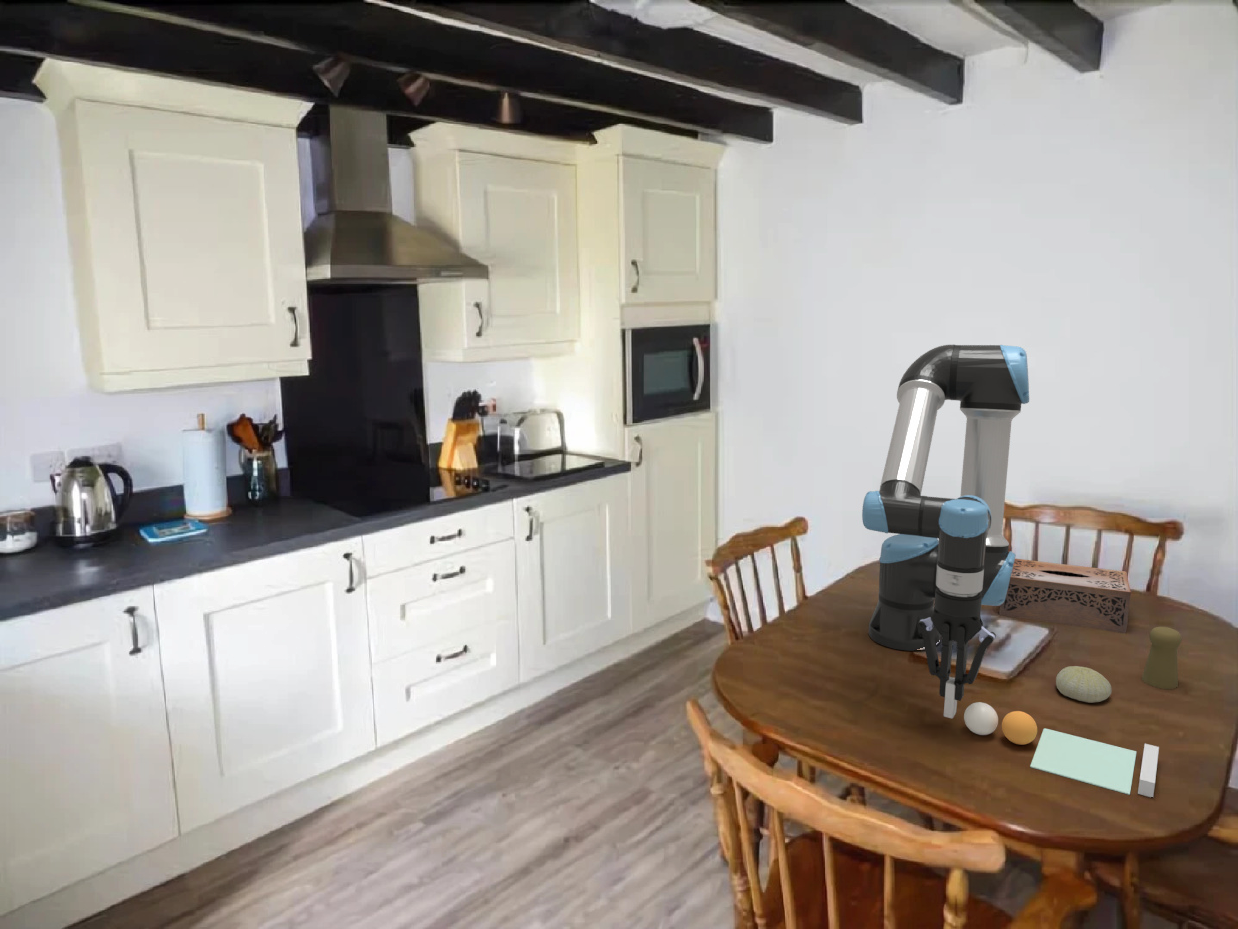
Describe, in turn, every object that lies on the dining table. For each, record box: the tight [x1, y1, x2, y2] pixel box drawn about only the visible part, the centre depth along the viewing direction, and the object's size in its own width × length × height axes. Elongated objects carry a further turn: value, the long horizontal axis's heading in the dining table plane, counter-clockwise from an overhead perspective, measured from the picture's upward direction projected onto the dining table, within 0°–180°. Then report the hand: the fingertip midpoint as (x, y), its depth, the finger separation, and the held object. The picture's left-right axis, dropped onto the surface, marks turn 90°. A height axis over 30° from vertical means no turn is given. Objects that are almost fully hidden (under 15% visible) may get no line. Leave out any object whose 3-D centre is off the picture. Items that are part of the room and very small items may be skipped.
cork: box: [1141, 626, 1183, 690], centre depth 163 cm, size 6×6×11 cm
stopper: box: [1137, 743, 1160, 798], centre depth 133 cm, size 2×12×2 cm, turn 145°
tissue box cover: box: [998, 558, 1132, 634], centre depth 197 cm, size 26×14×10 cm, turn 63°
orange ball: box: [1001, 710, 1038, 745], centre depth 144 cm, size 6×6×6 cm
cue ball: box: [963, 701, 999, 736], centre depth 147 cm, size 6×6×6 cm
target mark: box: [1029, 727, 1137, 796], centre depth 139 cm, size 14×14×1 cm
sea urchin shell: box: [1055, 665, 1113, 704], centre depth 160 cm, size 9×8×8 cm
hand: (950, 714), depth 150 cm, fingers closed
